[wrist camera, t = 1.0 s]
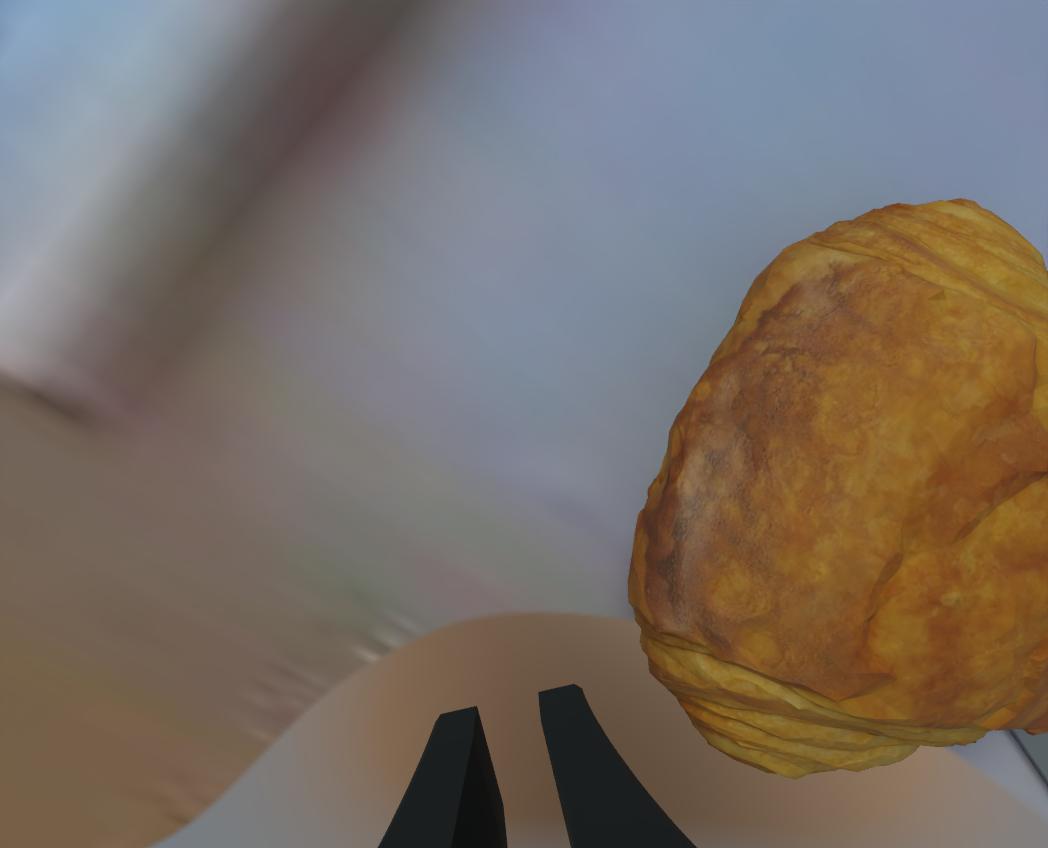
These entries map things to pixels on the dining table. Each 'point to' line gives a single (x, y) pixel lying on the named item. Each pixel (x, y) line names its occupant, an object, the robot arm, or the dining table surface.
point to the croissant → (861, 501)
